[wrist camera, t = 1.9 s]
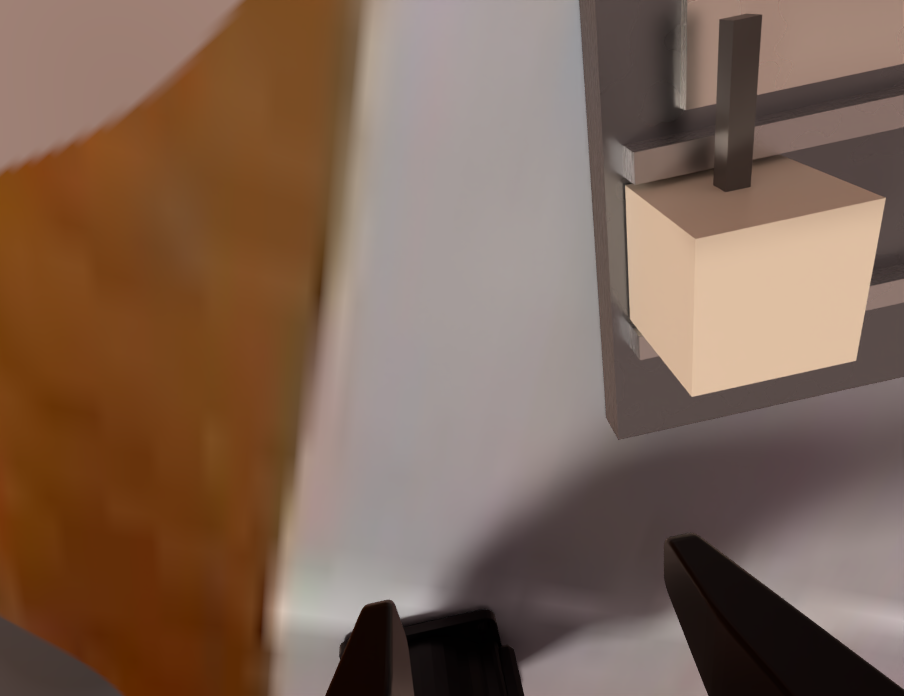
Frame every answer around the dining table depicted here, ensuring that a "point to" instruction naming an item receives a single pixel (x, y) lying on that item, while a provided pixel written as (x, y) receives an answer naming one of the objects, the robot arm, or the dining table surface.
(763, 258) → the cube with stick handle
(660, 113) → the bench gauge
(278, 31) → the dining table surface
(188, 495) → the dining table surface
